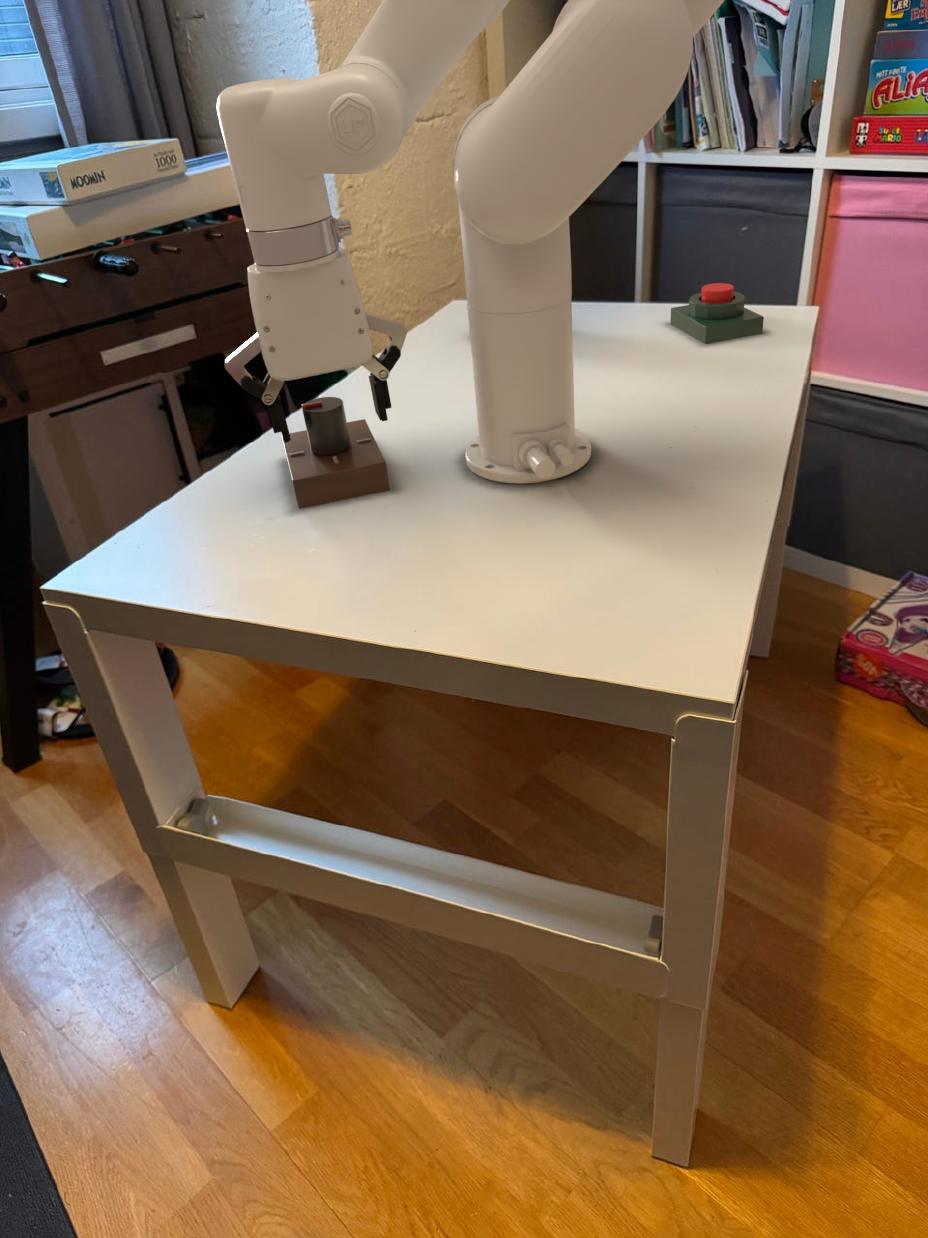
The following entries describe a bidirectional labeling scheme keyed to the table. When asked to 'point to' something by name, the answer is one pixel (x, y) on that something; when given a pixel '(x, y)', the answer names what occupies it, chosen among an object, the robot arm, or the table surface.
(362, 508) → the table surface
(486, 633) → the table surface
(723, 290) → the button
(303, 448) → the control panel
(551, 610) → the table surface
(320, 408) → the dial
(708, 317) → the button housing
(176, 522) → the table surface
